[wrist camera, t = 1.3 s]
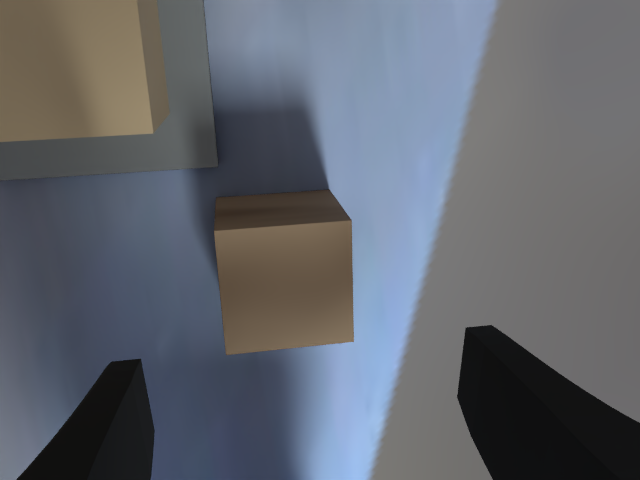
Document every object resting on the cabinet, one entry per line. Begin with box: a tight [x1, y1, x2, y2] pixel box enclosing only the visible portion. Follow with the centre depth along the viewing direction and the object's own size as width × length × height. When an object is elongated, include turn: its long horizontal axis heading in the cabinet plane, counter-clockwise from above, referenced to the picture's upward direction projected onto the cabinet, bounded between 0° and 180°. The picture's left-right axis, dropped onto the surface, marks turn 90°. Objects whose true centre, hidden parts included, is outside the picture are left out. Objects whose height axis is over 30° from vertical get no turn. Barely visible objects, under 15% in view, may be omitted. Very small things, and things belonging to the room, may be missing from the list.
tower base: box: [0, 0, 218, 181], centre depth 17 cm, size 9×8×6 cm
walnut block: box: [214, 190, 354, 355], centre depth 21 cm, size 4×4×4 cm
